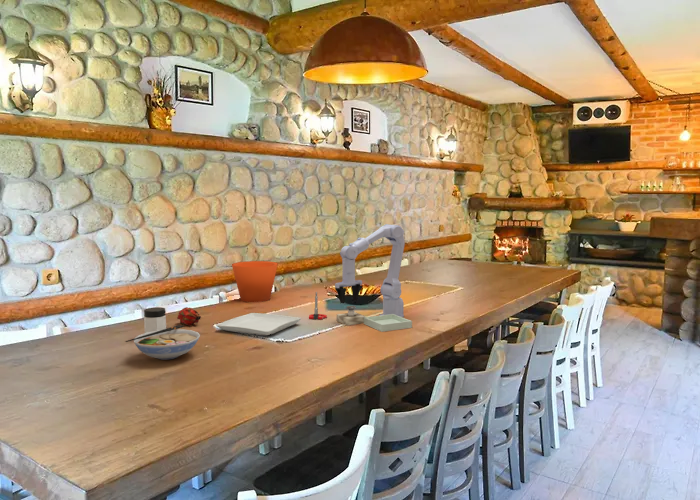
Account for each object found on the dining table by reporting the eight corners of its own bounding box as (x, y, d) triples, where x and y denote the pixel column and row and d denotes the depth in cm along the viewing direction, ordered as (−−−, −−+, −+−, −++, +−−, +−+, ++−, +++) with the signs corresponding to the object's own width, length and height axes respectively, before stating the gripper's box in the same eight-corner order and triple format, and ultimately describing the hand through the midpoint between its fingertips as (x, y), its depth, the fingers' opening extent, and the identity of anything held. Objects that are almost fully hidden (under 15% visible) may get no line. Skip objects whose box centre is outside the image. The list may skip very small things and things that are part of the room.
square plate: (302, 325, 245) (302, 316, 245) (268, 340, 220) (268, 330, 220) (252, 319, 256) (252, 311, 256) (214, 332, 232) (214, 323, 231)
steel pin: (352, 320, 253) (353, 305, 252) (357, 322, 250) (357, 307, 249) (344, 321, 251) (345, 306, 250) (349, 323, 248) (349, 308, 247)
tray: (392, 320, 254) (393, 313, 253) (411, 327, 240) (412, 321, 240) (363, 323, 246) (363, 317, 246) (381, 331, 233) (381, 324, 232)
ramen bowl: (160, 372, 180) (159, 348, 179) (117, 360, 192) (116, 337, 191) (216, 353, 201) (215, 331, 200) (174, 344, 213) (173, 323, 212)
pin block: (355, 318, 257) (355, 312, 257) (365, 322, 248) (365, 316, 248) (336, 320, 252) (336, 314, 252) (346, 325, 244) (346, 318, 243)
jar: (167, 339, 219) (166, 310, 217) (146, 342, 215) (145, 312, 214) (164, 334, 227) (163, 306, 225) (144, 336, 223) (142, 308, 222)
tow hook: (311, 315, 264) (306, 319, 255) (311, 289, 263) (307, 292, 254) (328, 316, 263) (324, 320, 254) (328, 290, 262) (324, 292, 253)
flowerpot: (287, 298, 305) (287, 263, 303) (257, 305, 284) (256, 268, 282) (254, 293, 319) (253, 259, 317) (222, 300, 298) (221, 264, 296)
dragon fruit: (180, 325, 248) (198, 333, 242) (168, 318, 241) (187, 325, 235) (190, 309, 251) (208, 316, 245) (179, 301, 244) (197, 308, 238)
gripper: (355, 269, 255) (355, 298, 257) (330, 272, 246) (330, 302, 247) (365, 271, 250) (365, 300, 251) (340, 274, 241) (340, 305, 242)
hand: (348, 301), depth 249 cm, fingers open, 7 cm apart
